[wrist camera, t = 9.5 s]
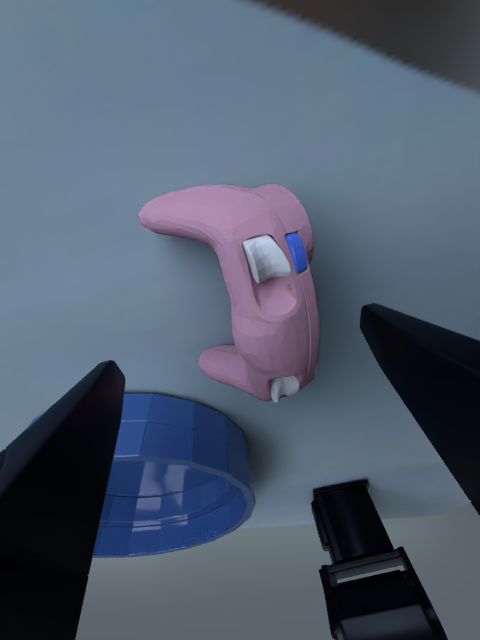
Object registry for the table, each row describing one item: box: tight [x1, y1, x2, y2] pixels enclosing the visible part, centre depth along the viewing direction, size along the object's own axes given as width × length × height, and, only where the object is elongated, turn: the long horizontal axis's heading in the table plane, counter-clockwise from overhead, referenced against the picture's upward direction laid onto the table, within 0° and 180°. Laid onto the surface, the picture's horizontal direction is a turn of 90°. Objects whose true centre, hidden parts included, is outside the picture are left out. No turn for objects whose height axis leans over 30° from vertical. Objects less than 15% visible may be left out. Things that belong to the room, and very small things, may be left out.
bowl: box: [29, 393, 255, 558], centre depth 21 cm, size 18×18×4 cm
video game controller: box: [139, 184, 320, 403], centre depth 11 cm, size 10×5×7 cm, turn 11°
